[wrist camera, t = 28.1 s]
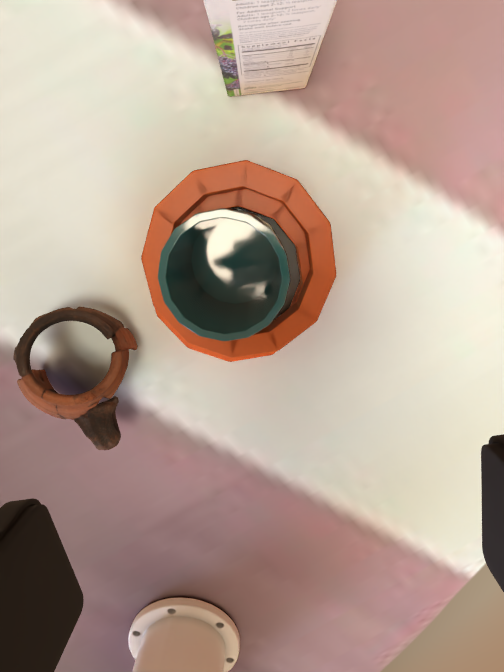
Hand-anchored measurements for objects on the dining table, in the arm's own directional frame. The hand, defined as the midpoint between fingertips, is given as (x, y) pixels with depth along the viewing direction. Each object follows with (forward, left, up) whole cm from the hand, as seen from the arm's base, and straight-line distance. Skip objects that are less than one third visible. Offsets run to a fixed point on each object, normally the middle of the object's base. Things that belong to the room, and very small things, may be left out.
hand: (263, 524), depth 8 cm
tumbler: (+3, +2, -25) cm, 26 cm away
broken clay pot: (-4, +16, -26) cm, 30 cm away
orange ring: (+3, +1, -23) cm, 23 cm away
